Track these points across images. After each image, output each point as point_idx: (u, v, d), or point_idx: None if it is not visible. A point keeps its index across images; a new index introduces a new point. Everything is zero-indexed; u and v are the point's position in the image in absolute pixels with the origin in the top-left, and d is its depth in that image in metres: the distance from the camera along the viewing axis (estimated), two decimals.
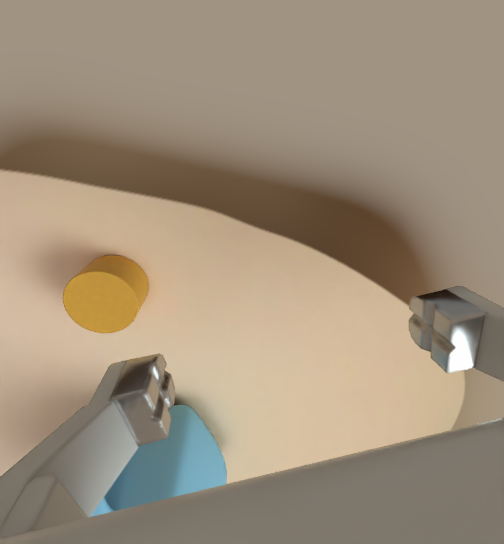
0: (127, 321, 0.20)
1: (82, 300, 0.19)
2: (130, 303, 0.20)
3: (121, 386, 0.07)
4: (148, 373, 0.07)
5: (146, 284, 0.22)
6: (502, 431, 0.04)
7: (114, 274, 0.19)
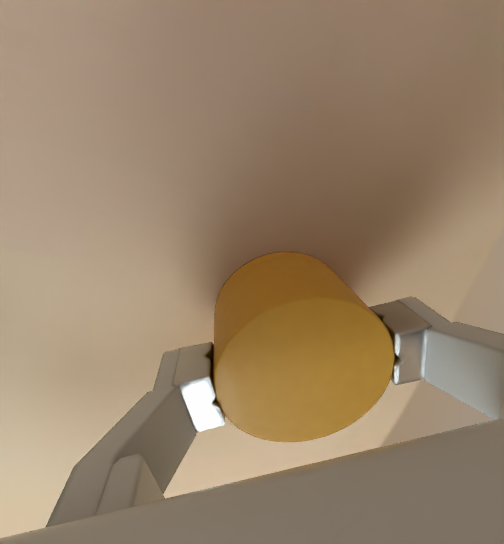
0: (248, 425, 0.08)
1: (324, 342, 0.07)
2: (298, 431, 0.08)
3: (181, 372, 0.07)
4: (206, 360, 0.08)
5: None
6: (502, 431, 0.04)
7: (372, 403, 0.08)
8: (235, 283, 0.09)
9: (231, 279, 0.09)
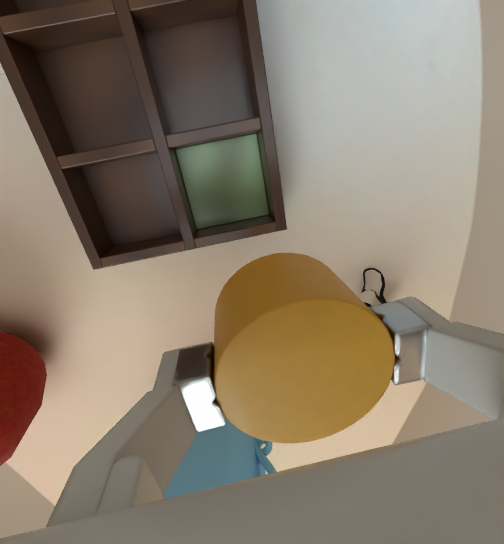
0: (249, 426, 0.08)
1: (325, 344, 0.07)
2: (299, 432, 0.08)
3: (182, 372, 0.07)
4: (206, 360, 0.08)
5: None
6: (502, 431, 0.04)
7: (373, 404, 0.08)
8: (235, 284, 0.09)
9: (231, 280, 0.09)
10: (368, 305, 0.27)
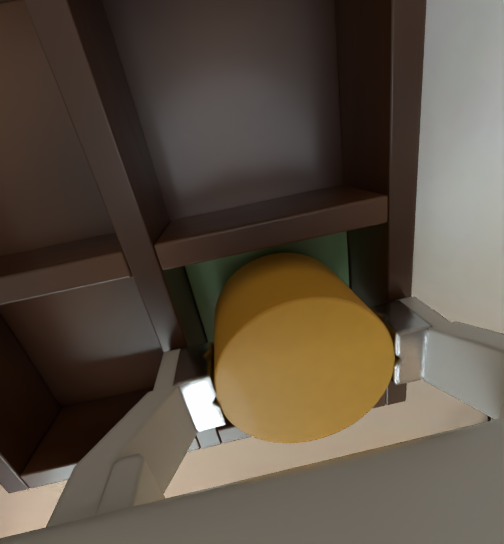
0: (249, 426, 0.08)
1: (325, 343, 0.07)
2: (299, 432, 0.08)
3: (182, 372, 0.07)
4: (207, 360, 0.08)
5: None
6: (502, 431, 0.04)
7: (373, 404, 0.08)
8: (235, 283, 0.09)
9: (231, 280, 0.09)
10: None
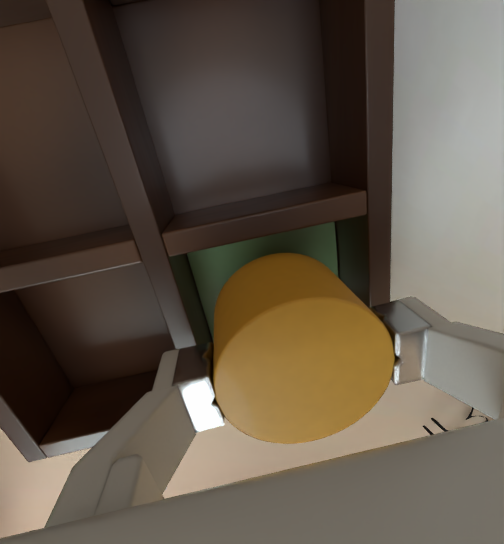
0: (248, 426, 0.08)
1: (324, 344, 0.07)
2: (298, 432, 0.08)
3: (181, 372, 0.07)
4: (206, 360, 0.08)
5: None
6: (502, 431, 0.04)
7: (373, 404, 0.08)
8: (234, 284, 0.09)
9: (230, 280, 0.09)
10: None
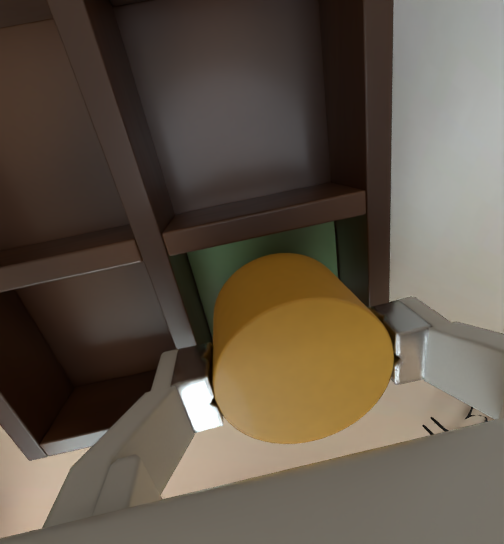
0: (248, 427, 0.08)
1: (324, 344, 0.07)
2: (298, 432, 0.08)
3: (180, 373, 0.07)
4: (204, 360, 0.08)
5: None
6: (502, 431, 0.04)
7: (372, 404, 0.08)
8: (234, 284, 0.09)
9: (229, 280, 0.09)
10: None
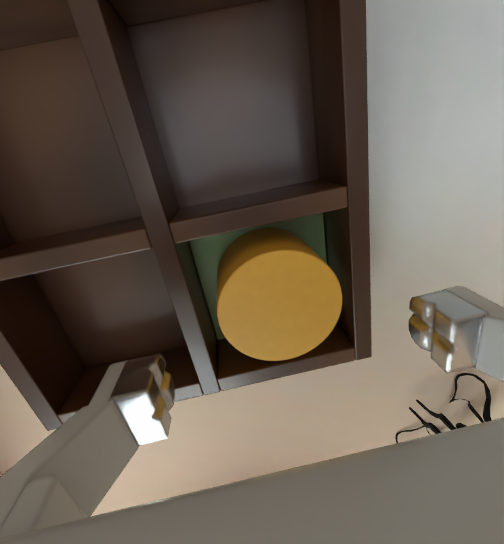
0: (241, 345, 0.11)
1: (292, 283, 0.10)
2: (277, 351, 0.12)
3: (121, 386, 0.07)
4: (148, 373, 0.07)
5: None
6: (502, 431, 0.04)
7: (329, 332, 0.12)
8: (232, 249, 0.12)
9: (229, 247, 0.13)
10: None
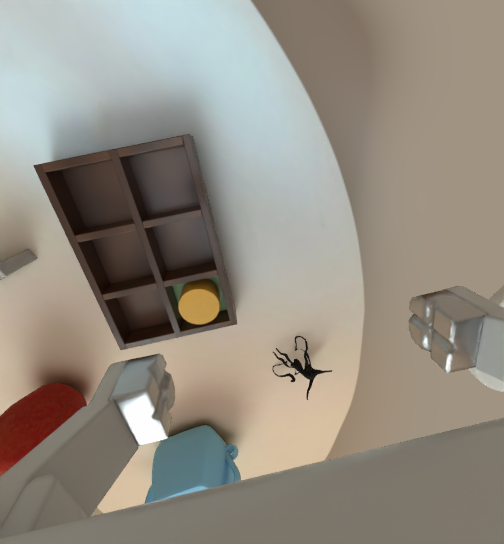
0: (187, 318, 0.34)
1: (201, 298, 0.34)
2: (199, 321, 0.35)
3: (121, 386, 0.07)
4: (148, 373, 0.07)
5: None
6: (502, 431, 0.04)
7: (217, 314, 0.35)
8: (185, 286, 0.35)
9: (185, 285, 0.36)
10: (297, 361, 0.42)
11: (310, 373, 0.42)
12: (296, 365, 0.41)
